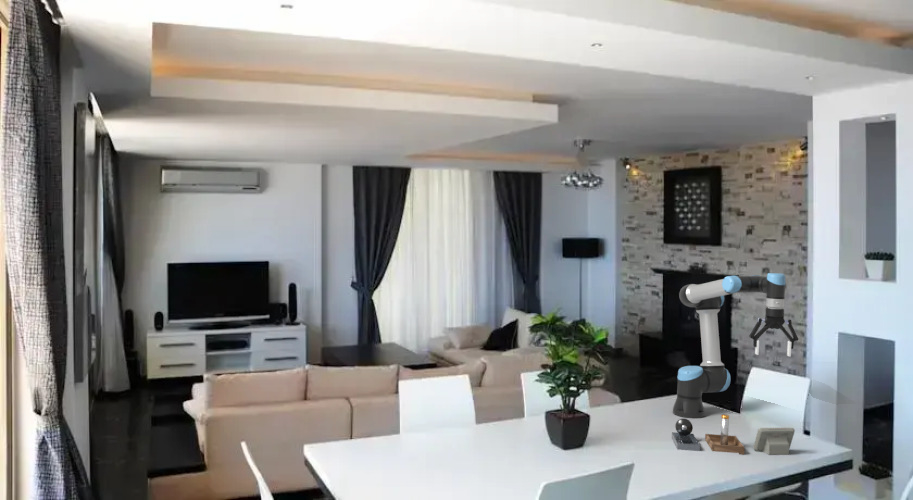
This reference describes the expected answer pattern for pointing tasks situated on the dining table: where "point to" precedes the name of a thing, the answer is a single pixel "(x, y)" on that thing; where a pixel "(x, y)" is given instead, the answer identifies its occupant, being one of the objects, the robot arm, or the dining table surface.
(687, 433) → the tensioner block
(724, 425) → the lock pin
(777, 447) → the digital clock
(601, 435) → the dining table surface
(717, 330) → the robot arm
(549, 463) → the dining table surface
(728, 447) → the walnut tray
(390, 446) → the dining table surface
